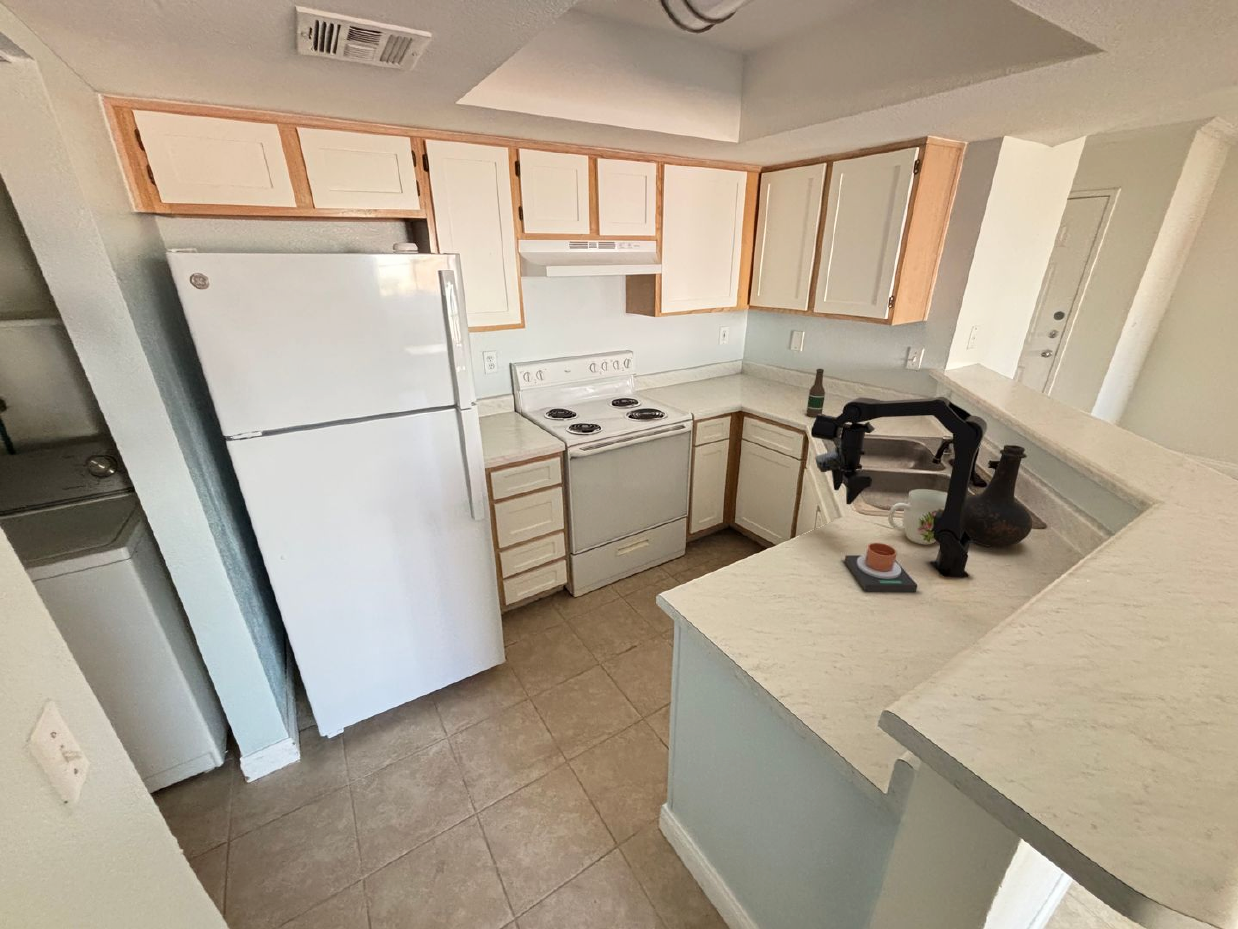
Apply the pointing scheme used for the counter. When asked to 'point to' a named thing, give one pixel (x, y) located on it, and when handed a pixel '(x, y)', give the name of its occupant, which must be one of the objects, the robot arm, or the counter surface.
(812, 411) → the beer bottle
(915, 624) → the counter surface
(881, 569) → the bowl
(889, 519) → the pitcher
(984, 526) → the dark brown vase
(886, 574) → the scale
